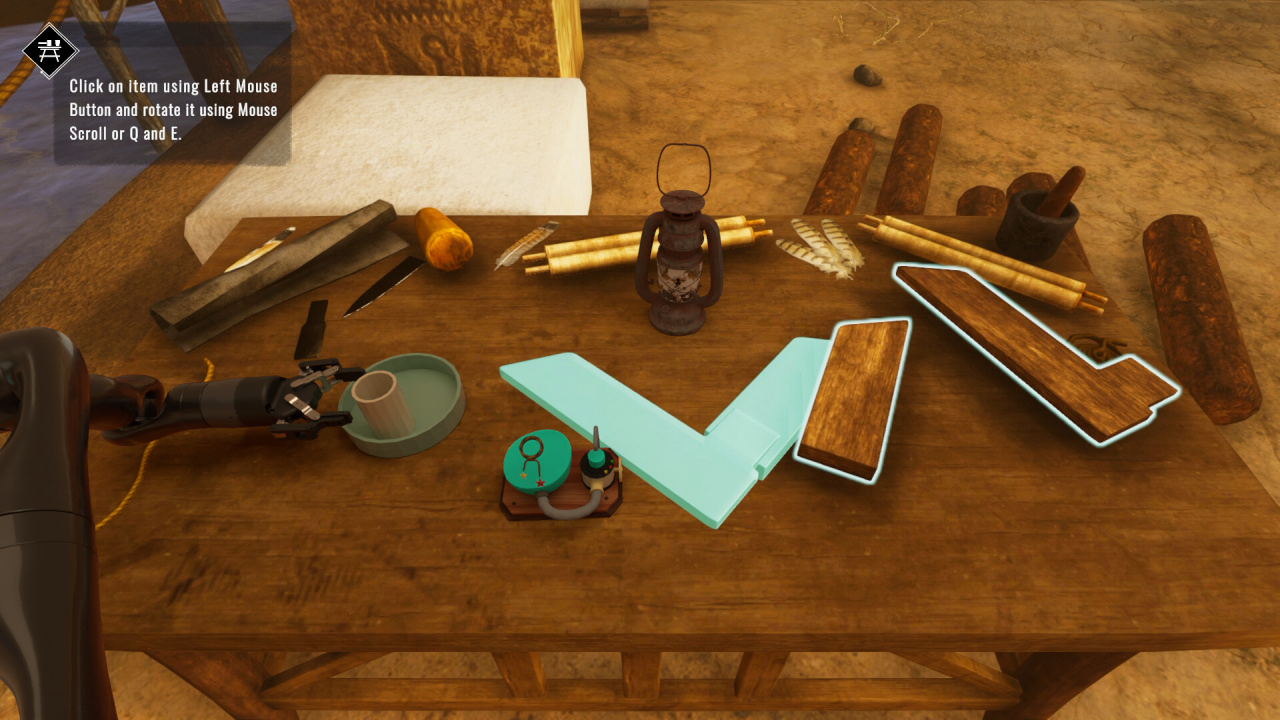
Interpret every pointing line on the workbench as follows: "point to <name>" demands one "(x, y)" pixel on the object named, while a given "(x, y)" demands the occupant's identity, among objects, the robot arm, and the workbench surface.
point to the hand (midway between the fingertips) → (358, 394)
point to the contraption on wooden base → (559, 479)
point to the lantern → (679, 260)
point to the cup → (383, 405)
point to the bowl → (412, 404)
